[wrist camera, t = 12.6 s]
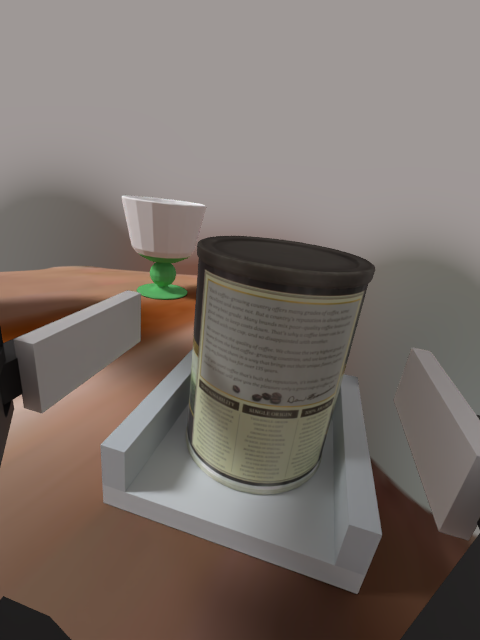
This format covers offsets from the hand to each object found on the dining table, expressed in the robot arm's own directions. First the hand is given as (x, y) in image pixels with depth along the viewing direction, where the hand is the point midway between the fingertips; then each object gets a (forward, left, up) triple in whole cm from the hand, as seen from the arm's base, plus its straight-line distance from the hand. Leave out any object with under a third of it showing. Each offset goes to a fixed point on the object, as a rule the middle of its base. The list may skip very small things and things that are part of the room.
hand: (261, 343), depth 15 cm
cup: (-45, -2, -12) cm, 47 cm away
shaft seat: (-9, +5, -12) cm, 15 cm away
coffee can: (-5, +2, -10) cm, 12 cm away
